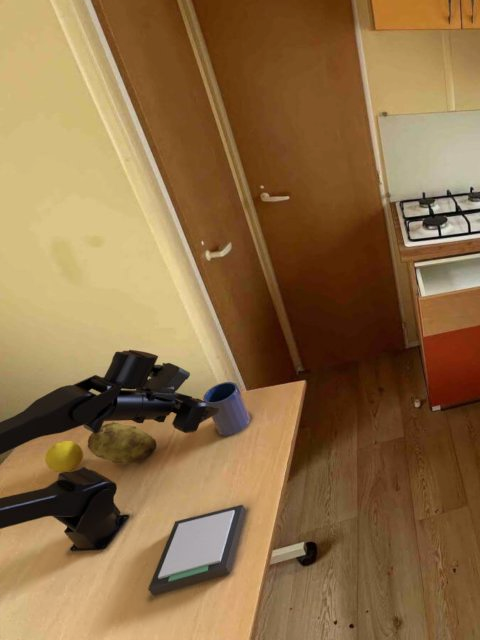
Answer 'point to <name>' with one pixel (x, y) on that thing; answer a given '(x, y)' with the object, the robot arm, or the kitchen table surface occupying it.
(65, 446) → the lemon
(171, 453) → the kitchen table surface
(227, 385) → the cup
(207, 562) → the scale
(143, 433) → the potato
